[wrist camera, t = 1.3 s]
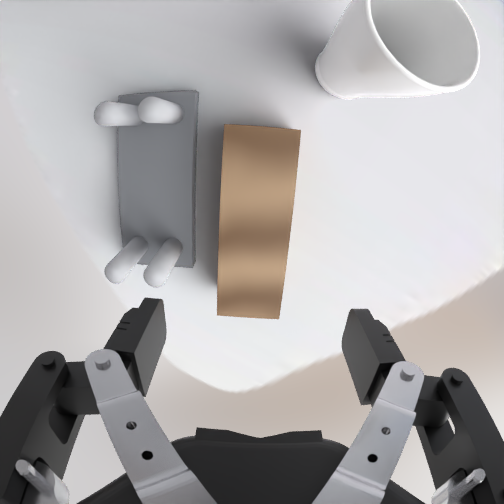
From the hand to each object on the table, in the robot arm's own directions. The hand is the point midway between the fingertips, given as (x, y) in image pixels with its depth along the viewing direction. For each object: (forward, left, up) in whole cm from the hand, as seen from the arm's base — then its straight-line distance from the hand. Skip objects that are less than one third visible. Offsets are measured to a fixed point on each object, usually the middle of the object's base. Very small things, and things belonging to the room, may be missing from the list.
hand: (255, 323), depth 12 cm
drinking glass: (-14, +7, -17) cm, 23 cm away
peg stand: (-3, -9, -16) cm, 19 cm away
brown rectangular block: (0, 0, -17) cm, 17 cm away
